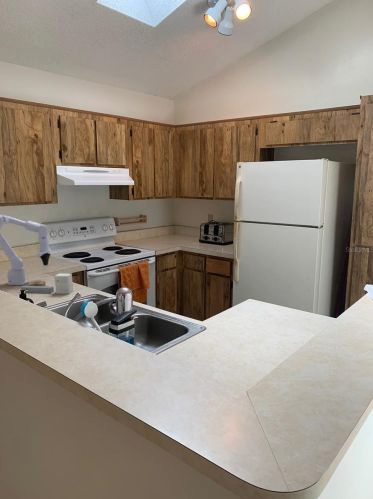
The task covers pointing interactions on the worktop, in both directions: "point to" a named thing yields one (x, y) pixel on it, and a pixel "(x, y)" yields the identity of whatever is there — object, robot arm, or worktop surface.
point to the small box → (63, 283)
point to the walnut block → (37, 283)
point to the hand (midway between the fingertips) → (45, 265)
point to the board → (38, 289)
